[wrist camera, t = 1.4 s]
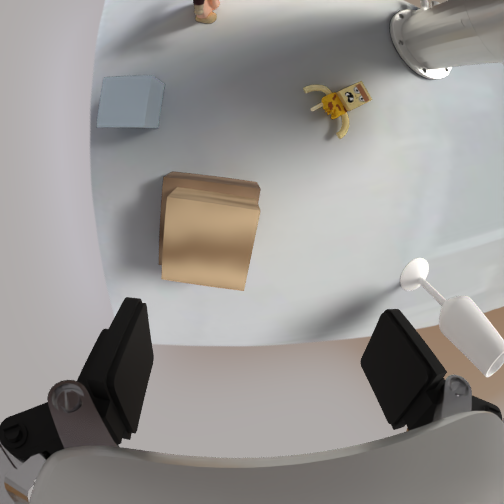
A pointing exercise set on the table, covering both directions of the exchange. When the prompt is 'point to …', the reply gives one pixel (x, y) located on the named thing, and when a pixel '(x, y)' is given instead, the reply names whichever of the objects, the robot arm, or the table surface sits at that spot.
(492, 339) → the champagne flute
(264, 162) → the table surface
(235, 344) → the table surface
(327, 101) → the character toy
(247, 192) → the tower bottom
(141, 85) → the blue cube
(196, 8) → the grandmother figurine
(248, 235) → the tower top
